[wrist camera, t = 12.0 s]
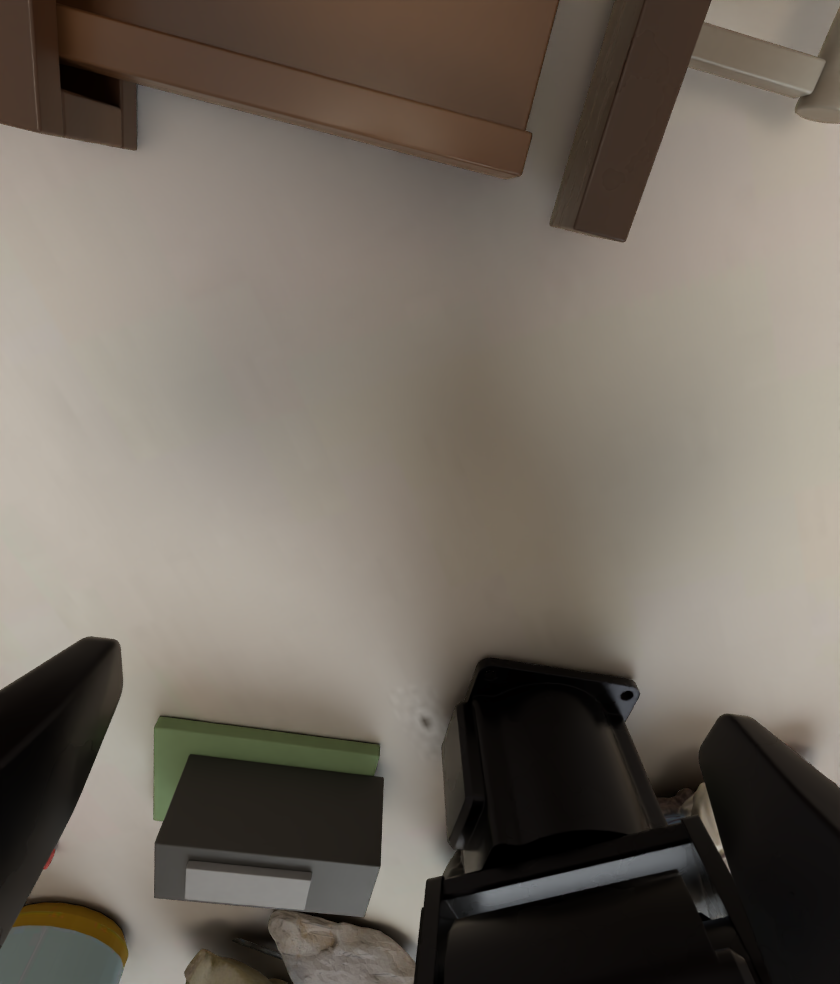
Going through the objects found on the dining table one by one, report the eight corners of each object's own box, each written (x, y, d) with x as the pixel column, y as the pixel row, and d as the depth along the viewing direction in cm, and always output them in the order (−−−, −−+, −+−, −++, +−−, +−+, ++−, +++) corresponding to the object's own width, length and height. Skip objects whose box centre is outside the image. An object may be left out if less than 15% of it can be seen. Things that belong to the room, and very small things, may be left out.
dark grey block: (383, 776, 24) (380, 875, 20) (369, 826, 25) (363, 926, 22) (189, 753, 23) (150, 852, 19) (186, 806, 24) (150, 907, 21)
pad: (380, 744, 24) (379, 756, 23) (356, 829, 26) (355, 842, 26) (159, 715, 23) (153, 727, 22) (158, 807, 25) (152, 821, 25)
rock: (281, 888, 28) (243, 906, 31) (255, 973, 26) (216, 984, 29) (445, 955, 31) (396, 966, 34) (437, 1039, 28) (385, 1043, 31)
